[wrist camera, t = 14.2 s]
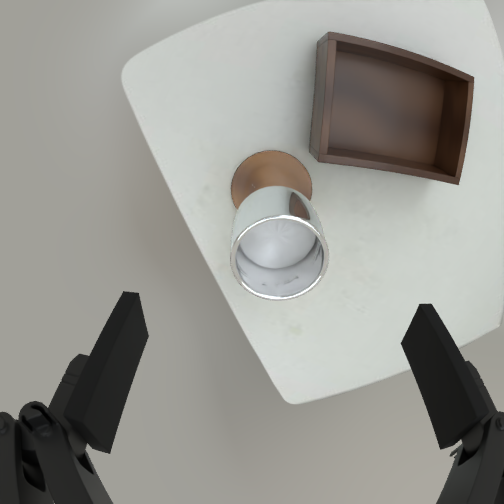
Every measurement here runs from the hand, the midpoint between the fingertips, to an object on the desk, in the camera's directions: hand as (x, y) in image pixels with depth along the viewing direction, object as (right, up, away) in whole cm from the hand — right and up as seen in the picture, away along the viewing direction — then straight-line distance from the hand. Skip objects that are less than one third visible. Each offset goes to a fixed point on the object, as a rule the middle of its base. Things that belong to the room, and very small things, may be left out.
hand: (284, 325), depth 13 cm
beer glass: (+1, +10, +20) cm, 22 cm away
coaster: (+1, +10, +20) cm, 22 cm away
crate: (+13, +19, +15) cm, 27 cm away
